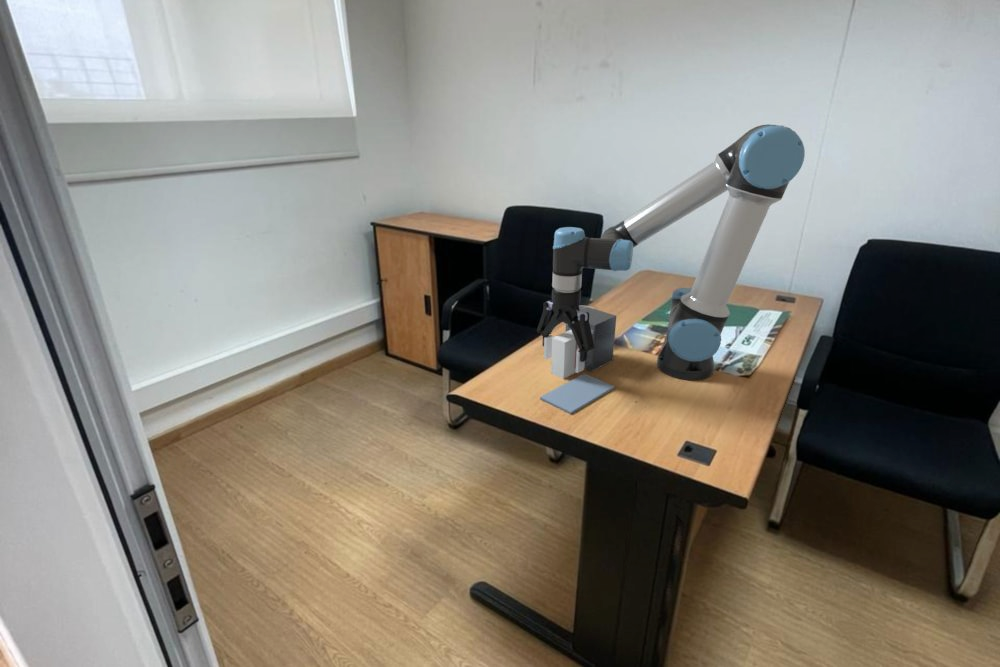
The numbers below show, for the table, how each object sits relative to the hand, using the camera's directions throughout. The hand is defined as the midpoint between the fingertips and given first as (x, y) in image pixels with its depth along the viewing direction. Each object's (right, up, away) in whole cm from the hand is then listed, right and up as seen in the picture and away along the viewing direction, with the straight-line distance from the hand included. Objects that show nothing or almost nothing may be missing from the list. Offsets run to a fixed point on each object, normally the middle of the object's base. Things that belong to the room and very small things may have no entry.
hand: (563, 364), depth 140 cm
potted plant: (+17, -9, -14) cm, 24 cm away
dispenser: (+8, +1, +8) cm, 12 cm away
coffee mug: (+9, +7, +24) cm, 26 cm away
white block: (+4, -1, +5) cm, 6 cm away
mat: (+3, -7, -9) cm, 12 cm away
